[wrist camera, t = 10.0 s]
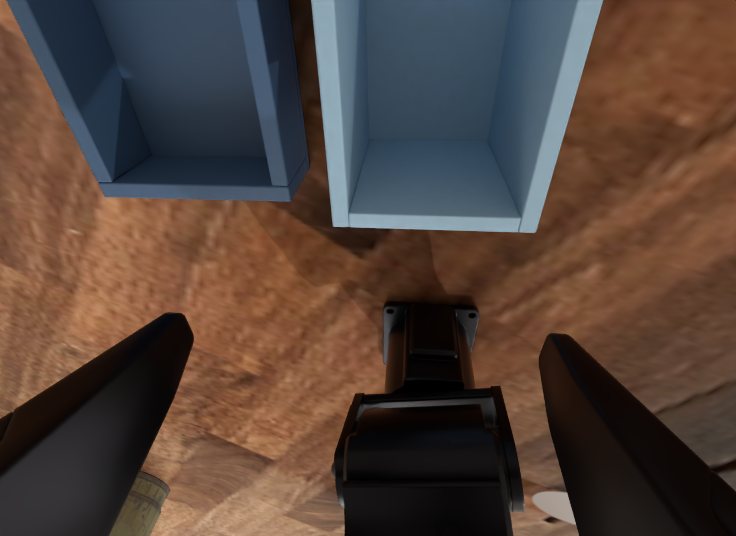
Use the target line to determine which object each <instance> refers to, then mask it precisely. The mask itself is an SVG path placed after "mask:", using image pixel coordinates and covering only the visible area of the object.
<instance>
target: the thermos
mask: <svg viewBox="0 0 736 536" xmlns="http://www.w3.org/2000/svg"><path fill="white" fill-rule="evenodd" d="M169 491H170V490H169V488H168V486H167V485H166V484H165V483H164V482H162V481H161V480H159V479H157V478H156V477H153V476H151V475H148V474H146V473H143V472H139V474H138V476H137V478H136V480H135V483H134V485H133V487H132V489H131V491H130V493H129V495H128V497H127V500H126V502H125V504H124V506H123V508H122V510H121V512H120V515H119V517H118V519H117V521H116V523H115V525H114V527H113V529H112V532H111V534H110V536H150V534H151V532H152V530H153V528H154V526H155V524H156V522H157V520H158V518H159V515H160V513H161V511H160V510H161V507H162V505H163V503H164V501H165V499H166V498H167V496H168V494H169Z"/></svg>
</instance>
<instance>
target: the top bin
mask: <svg viewBox="0 0 736 536" xmlns="http://www.w3.org/2000/svg"><path fill="white" fill-rule="evenodd" d="M602 2H603V0H311V4H312V14H313V25H314V35H315V45H316V56H317V66H318V77H319V87H320V97H321V108H322V118H323V129H324V139H325V149H326V160H327V170H328V181H329V191H330V201H331V212H332V222H333V226H334V227H349V226H350V227H360V228H393V229H426V230H459V231H491V232H517V231H518V232H525V233H535V232H536V230H537V226H538V223H539V219H540V216H541V212H542V209H543V206H544V202H545V199H546V195H547V192H548V188H549V185H550V181H551V178H552V175H553V171H554V168H555V164H556V161H557V157H558V154H559V150H560V147H561V144H562V140H563V137H564V133H565V130H566V126H567V123H568V119H569V116H570V113H571V109H572V106H573V102H574V99H575V95H576V92H577V88H578V85H579V82H580V78H581V75H582V71H583V68H584V64H585V61H586V57H587V54H588V51H589V47H590V44H591V40H592V37H593V33H594V30H595V26H596V23H597V20H598V16H599V13H600V9H601V6H602Z"/></svg>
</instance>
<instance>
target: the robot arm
mask: <svg viewBox="0 0 736 536" xmlns="http://www.w3.org/2000/svg"><path fill="white" fill-rule="evenodd" d="M389 309H393V310H389ZM470 313H473V314H470ZM478 320H479V310H478V308H477V307H475V306H461V305H441V304H421V303H401V302H388V303H385V305H384V308H383V362H384V364H385V365H387V367H386V380H385V394H366V395H365V394H364V393H357V394H355V396H354V399H353V402H352V405H351V406H350V409H349V412H348V415H347V418H346V421H345V424H344V427H343V430H342V433H341V436H340V439H339V442H338V445H337V448H336V451H335V454H334V462H333V464H332V475H333V476H334V477H335V481H336V491H337V496H338V500H339V503H340V505H341V507H342V508H343V509H344V515H345V536H513V530H512V523H511V516H510V512H524V510H525V506H524V495H523V487H522V480H521V473H520V468H519V462H518V457H517V452H516V447H515V442H514V438H513V434H512V430H511V426H510V422H509V419H508V415H507V411H506V407H505V403H504V399H503V395H502V391H501V388H500V386H490V388H479V389H475V382H474V375H473V368H472V361H471V352H472V348H473V343H474V339H475V334H476V329H477V325H478ZM193 342H194V336H193V332H192V330H191V328H190V326H189V324H188V321H187V319H186V317H185V315H183V314H182V313H171V312H168V313H165V314H163V315H161V316H160V317H158V318H157V319H155V320H153V321H152V322H150V323H149V324H147V325H146V326H144V327H143V328H141V329H139V330H138V331H136V332H135V333H133V334H132V335H130V336H129V337H127V338H125V339H124V340H122V341H121V342H119V343H118V344H116V345H115V346H113V347H111V348H110V349H108V350H107V351H105V352H104V353H102V354H101V355H99V356H97V357H96V358H94V359H93V360H91V361H90V362H88V363H87V364H85V365H83V366H82V367H80V368H79V369H77V370H76V371H74V372H72V373H71V374H69V375H68V376H66V377H65V378H63V379H62V380H60V381H58V382H57V383H55V384H54V385H52V386H51V387H49V388H48V389H46V390H44V391H43V392H41V393H40V394H38V395H37V396H35V397H34V398H32V399H30V400H29V401H27V402H26V403H24V404H23V405H21V406H20V407H18V408H16V409H15V410H14V412H10V413H8V414H7V415H5V416H4V417H2V418H1V419H0V536H110V534H111V532H112V529H113V527H114V525H115V523H116V521H117V519H118V517H119V515H120V512H121V510H122V508H123V506H124V504H125V502H126V500H127V497H128V495H129V493H130V491H131V489H132V487H133V485H134V483H135V480H136V478H137V476H138V474H139V472H140V470H141V468H142V466H143V463H144V461H145V459H146V457H147V455H148V453H149V451H150V449H151V446H152V444H153V442H154V440H155V438H156V436H157V434H158V431H159V429H160V427H161V425H162V423H163V421H164V419H165V417H166V414H167V412H168V410H169V408H170V406H171V404H172V401H173V399H174V397H175V394H176V392H177V389H178V386H179V383H180V380H181V377H182V375H183V372H184V369H185V366H186V363H187V360H188V357H189V354H190V351H191V349H192V346H193ZM539 369H540V375H541V381H542V387H543V394H544V400H545V406H546V413H547V418H548V424H549V428H550V432H551V436H552V440H553V444H554V447H555V451H556V454H557V458H558V461H559V465H560V468H561V472H562V476H563V479H564V483H565V486H566V490H567V493H568V497H569V500H570V504H571V507H572V511H573V514H574V518H575V522H576V525H577V529H578V533H579V536H736V491H735V490H734V489H733V488H732V487H730V486H729V485H728V484H727V483H726V482H725V481H724V480H723V479H722V478H721V477H720V476H719V475H718V474H717V473H715V472H714V471H711V469H710V467H709V466H708V465H707V464H706V463H705V462H704V461H703V460H702V459H700V458H699V457H698V456H697V455H696V454H695V453H694V452H693V451H692V450H691V449H690V448H689V447H688V446H687V445H686V444H684V443H683V442H682V441H681V440H680V439H679V438H678V437H677V436H676V435H675V434H674V433H673V432H672V431H671V430H670V429H669V428H667V427H666V426H665V425H664V424H663V423H662V422H661V421H660V420H659V419H658V418H657V417H656V416H655V415H654V414H653V413H651V412H650V411H649V410H648V409H647V408H646V407H645V406H644V405H643V404H642V403H641V402H640V401H639V400H638V399H637V398H635V397H634V396H633V395H632V394H631V393H630V392H629V391H628V390H627V389H626V388H625V387H624V386H623V385H622V384H621V383H620V382H618V381H617V380H616V379H615V378H614V377H613V376H612V375H611V374H610V373H609V372H608V371H607V370H606V369H605V368H604V367H602V366H601V365H600V364H599V363H598V362H597V361H596V360H595V359H594V358H593V357H592V356H591V355H590V354H589V353H588V352H587V351H585V350H584V349H583V348H582V347H581V346H580V345H579V344H578V343H577V342H576V341H575V340H574V339H573V338H572V337H570V336H569V335H567V334H557V333H551V334H549V335H548V336H547V337H546V340H545V342H544V345H543V348H542V350H541V353H540V356H539Z"/></svg>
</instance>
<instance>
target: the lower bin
mask: <svg viewBox="0 0 736 536" xmlns="http://www.w3.org/2000/svg"><path fill="white" fill-rule="evenodd" d="M7 2H8V4H9V6H10V8H11V10H12V12H13V14H14V16H15V18H16V20H17V22H18V24H19V26H20V28H21V30H22V32H23V34H24V36H25V38H26V40H27V42H28V44H29V46H30V48H31V50H32V52H33V54H34V56H35V58H36V60H37V62H38V64H39V66H40V68H41V70H42V72H43V74H44V76H45V78H46V80H47V82H48V84H49V86H50V88H51V90H52V92H53V94H54V96H55V98H56V100H57V102H58V104H59V106H60V108H61V110H62V112H63V114H64V116H65V118H66V120H67V122H68V124H69V126H70V128H71V130H72V132H73V134H74V136H75V138H76V140H77V142H78V144H79V146H80V148H81V150H82V152H83V154H84V156H85V158H86V160H87V162H88V164H89V166H90V168H91V170H92V172H93V174H94V176H95V178H96V180H97V181H98V182H99V186H100V188H101V190H102V192H103V194H104V196H105V197H125V198H166V199H207V200H247V201H288V202H289V201H291V200H292V198H293V196H294V195H295V193H296V191H297V189H298V187H299V186H300V184H301V182H302V180H303V178H304V177H305V175H306V173H307V171H308V170H309V168H310V165H309V158H308V150H307V142H306V134H305V126H304V118H303V110H302V102H301V94H300V86H299V79H298V71H297V63H296V55H295V47H294V39H293V31H292V23H291V15H290V8H289V0H7Z"/></svg>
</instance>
